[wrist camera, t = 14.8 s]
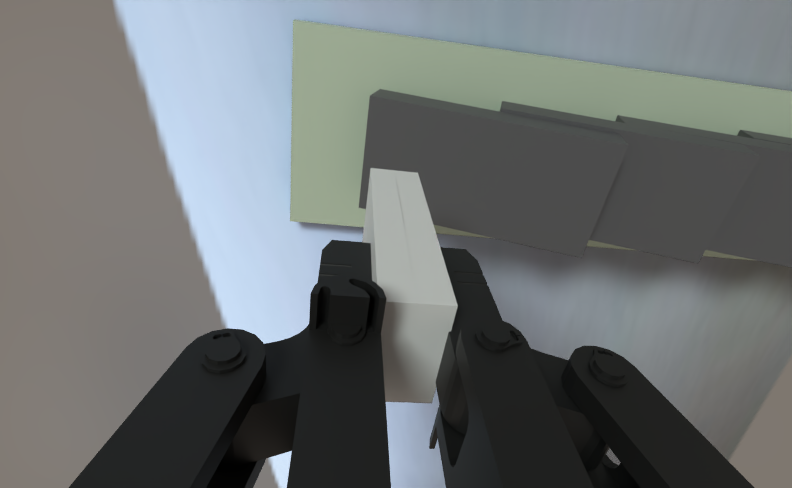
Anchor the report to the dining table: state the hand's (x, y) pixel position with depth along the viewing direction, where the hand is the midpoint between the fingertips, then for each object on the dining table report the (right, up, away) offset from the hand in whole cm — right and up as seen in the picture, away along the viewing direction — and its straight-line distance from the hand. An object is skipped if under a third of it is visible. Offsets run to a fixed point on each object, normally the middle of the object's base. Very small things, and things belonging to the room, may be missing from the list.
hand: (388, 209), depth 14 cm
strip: (+9, +3, +8) cm, 12 cm away
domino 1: (-1, +3, +5) cm, 6 cm away
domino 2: (+4, +3, +6) cm, 8 cm away
